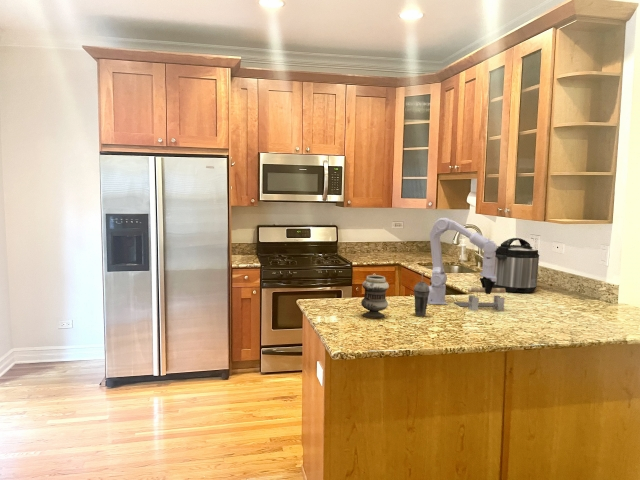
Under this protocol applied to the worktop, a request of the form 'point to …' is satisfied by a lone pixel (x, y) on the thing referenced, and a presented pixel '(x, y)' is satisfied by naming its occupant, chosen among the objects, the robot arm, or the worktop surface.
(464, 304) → the mat
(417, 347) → the worktop surface
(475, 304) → the hook stands
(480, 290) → the rail
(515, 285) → the pressure cooker
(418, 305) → the beverage cup
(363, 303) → the apothecary jar
